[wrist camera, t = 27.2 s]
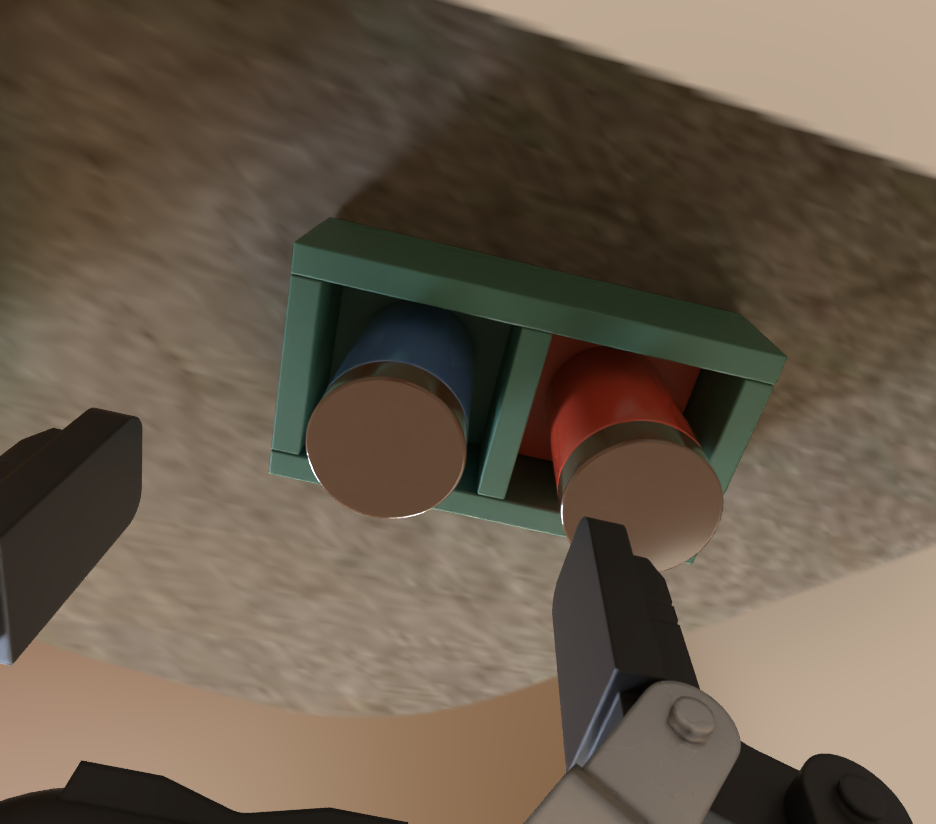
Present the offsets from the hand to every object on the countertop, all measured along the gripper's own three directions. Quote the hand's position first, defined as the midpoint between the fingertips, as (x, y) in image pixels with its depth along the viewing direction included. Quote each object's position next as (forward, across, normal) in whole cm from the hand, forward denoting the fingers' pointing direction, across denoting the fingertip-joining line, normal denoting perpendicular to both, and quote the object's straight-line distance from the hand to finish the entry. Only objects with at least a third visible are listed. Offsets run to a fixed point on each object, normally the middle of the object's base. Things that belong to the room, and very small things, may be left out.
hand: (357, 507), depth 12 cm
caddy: (+9, -3, 0) cm, 10 cm away
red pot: (+9, -6, 0) cm, 10 cm away
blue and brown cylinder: (+9, 0, +1) cm, 9 cm away
